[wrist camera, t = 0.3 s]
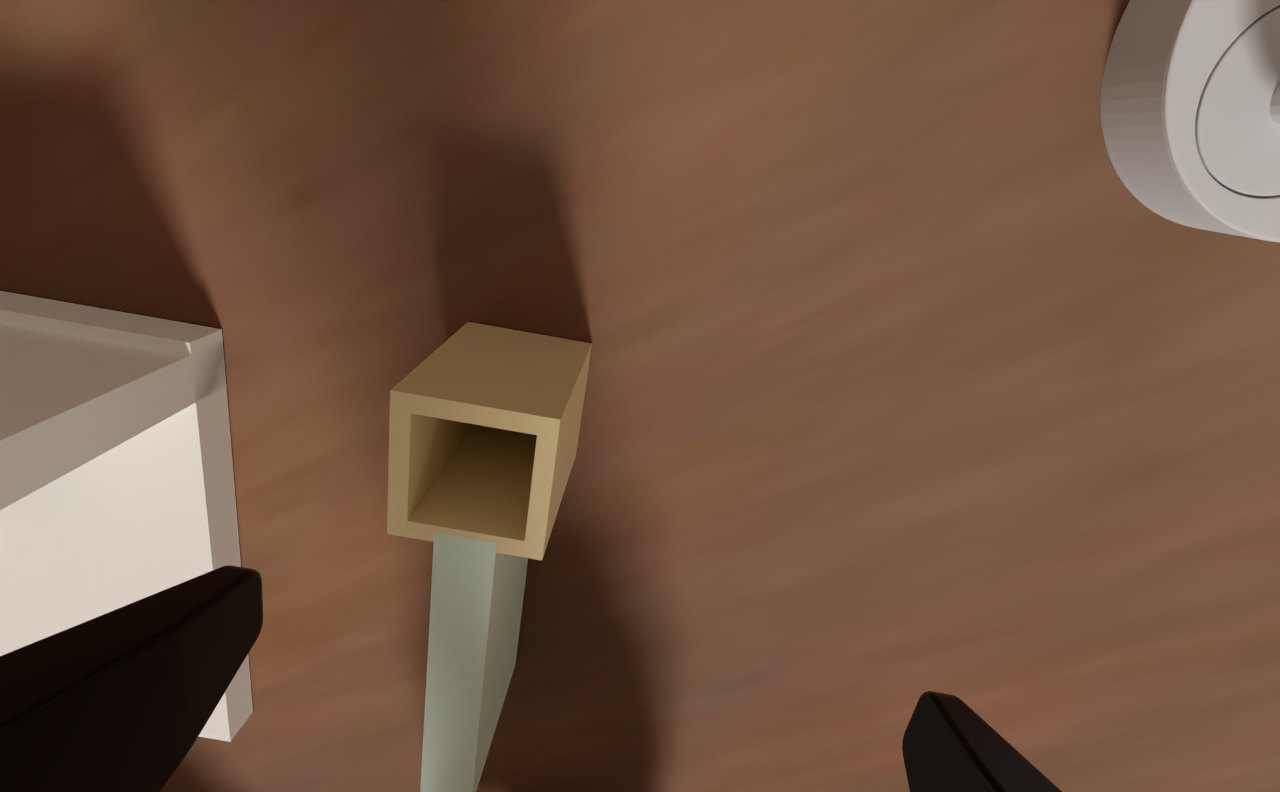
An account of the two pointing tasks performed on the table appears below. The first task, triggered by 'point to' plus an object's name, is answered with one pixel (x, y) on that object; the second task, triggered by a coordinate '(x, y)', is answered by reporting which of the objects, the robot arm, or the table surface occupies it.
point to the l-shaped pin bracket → (111, 469)
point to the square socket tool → (480, 515)
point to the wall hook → (1198, 112)
